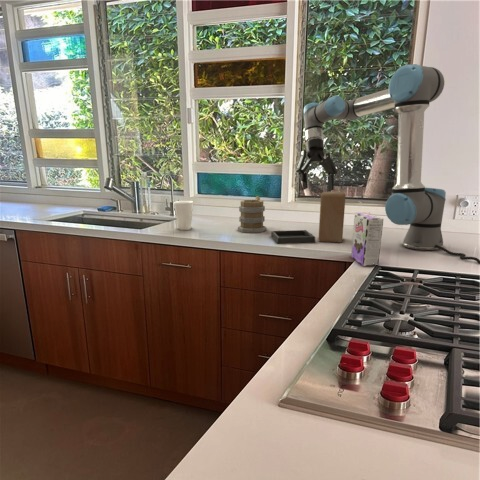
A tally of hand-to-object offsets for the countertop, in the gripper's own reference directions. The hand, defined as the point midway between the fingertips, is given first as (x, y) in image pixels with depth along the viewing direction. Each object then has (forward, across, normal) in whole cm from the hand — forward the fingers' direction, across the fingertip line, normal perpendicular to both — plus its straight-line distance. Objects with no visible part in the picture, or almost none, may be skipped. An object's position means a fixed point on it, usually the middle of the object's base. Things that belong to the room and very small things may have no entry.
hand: (318, 189), depth 201 cm
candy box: (+37, +9, +36) cm, 52 cm away
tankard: (+10, +14, -36) cm, 40 cm away
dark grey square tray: (+20, +11, -7) cm, 24 cm away
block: (+22, -3, +2) cm, 23 cm away
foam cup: (+7, +44, -53) cm, 69 cm away
